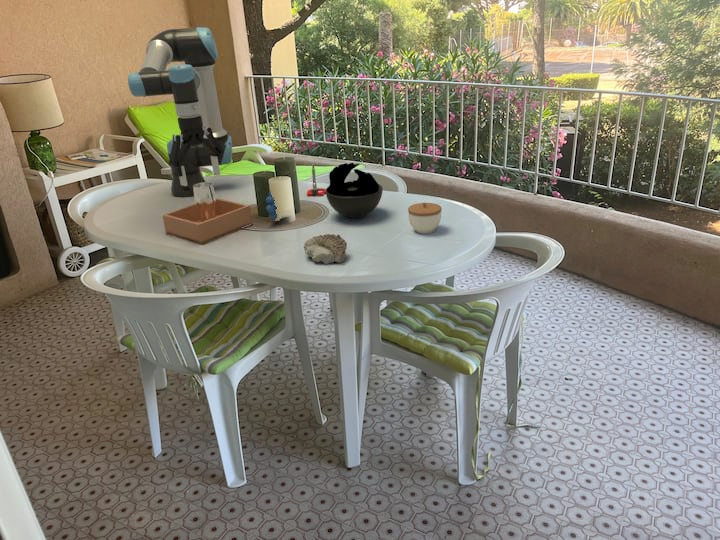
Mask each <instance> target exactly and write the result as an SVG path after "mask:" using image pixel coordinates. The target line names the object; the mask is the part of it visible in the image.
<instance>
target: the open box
mask: <svg viewBox="0 0 720 540" xmlns="http://www.w3.org/2000/svg"><path fill="white" fill-rule="evenodd" d="M161 216H162V220H163V225H164V229H165V234H166V235H168V236H172V237H174V236H175V238H177V239H178V238H179V239H181V240H184V241H188V242H192V243H195V244H199V245H202V246H203V245H205V244H208V243H210V242H213V241H215V240H218V239H220V238H223V237H226V236H228V235H230V234H233V233H235V232H237V230H238V231H240V230H242V229H241V228H242V227H244V226H246V225H249V224H251V223H252V224H253V219H252V212H251V205H248V204H243V203H239V202H234V201H230V200H225V199H221V198H217V197H216V217H215V218H212V219H209V220H206V221H204V222H201V216H200V213H199V211H198V208H197V205H196V203H194V204H191V205H187V206H185V207H182V208H178V209H175V210H173V211H170V212H166V213H164V214H162V215H161ZM239 229H240V230H239Z"/></svg>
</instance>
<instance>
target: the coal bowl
mask: <svg viewBox="0 0 720 540" xmlns="http://www.w3.org/2000/svg"><path fill="white" fill-rule="evenodd" d="M358 166H360V163H353V162H349V163H346V162H344V163H342V164H339V165H338V166H334V167H333V169H332V170H331V171H330V172H329V174H328V177H329V186H327V187H326V188H325V189H326V194H325V196H326V199H327V202H328V203H329V204H330V206H331V208H332V209H333V210H335V212H337V213H339V215H342V216H344V217H346V218H347V217H348V218H354V219H356V218H362V217H364V216H367V215H369V214H370V213H371V212H373V211H374V210H375V209H376V208H377V206H378V205H379V204H380V201H381V198H382V197H383V190H384V189H383V186H382V185H381V184H379V183H378V182H377V180H376V178H374V176H373V175H372V174H371V173H370V172H366V171H362V170H361V169H358V168H356V167H358ZM352 170H353V172H354V174H356V175H357V179H356V180H352V181H351V180H350V181H346V182H345V180H346V179H347V178H348V176H349V175H350V174H351V172H352Z"/></svg>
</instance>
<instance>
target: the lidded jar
mask: <svg viewBox="0 0 720 540" xmlns="http://www.w3.org/2000/svg"><path fill="white" fill-rule="evenodd" d="M442 210H443V209H442V206H441V205H440V204H436V203H433V202H425V201H424V202H419V203H413V204H411V205H410V206H408V208H407V213H408V220H409V224H410V226H411V227H412V229H413V230H415V232H417V233H418V234H422V235H423V234H431V233H434V231H435V230H436V229H437V228H438V227H439V225H440V224H441V219H442Z"/></svg>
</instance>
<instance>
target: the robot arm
mask: <svg viewBox="0 0 720 540" xmlns="http://www.w3.org/2000/svg"><path fill="white" fill-rule="evenodd" d="M216 44H217V43H216V41H215V38H214V35H213V33H212V31H211V29H210V28H208V27H200V26H199V27H198V26H197V27H196V26H195V27H189V28H188V27H186V28H171V29H165V30H163V31H161V32H159V33H158V34H156V35H154V36H153V37H152V38H151V39H150V40H149V41H148V43H147V45H146V47H145V57H144V60H143V62H142V64H141V67H140V70H139V71H135V72H131V73H129V74H128V76H127V82H128V83H127V84H128V88H129V92H130V94H131V95H132V96H133V97H137V98H139V97H141V98H142V97H143V98H146V97H156V96H167V95H172V97H173V103H174V107H175V113H176V116H177V117H178V118H177V123H178V128H179V131H180V134H173V135H172V139H171V140H169V141H167V143H166V150H167V155H168V165H169V166H170V171H171V175H172V177H171V178H172V180H171V187H170V192H171V195H172V196H173V197H177V198H178V197H179V198H181V197H182V198H186V197H187V198H188V197H193V196H194V190H193V185H195V184H197V183H202V182H206V180H205V178H204V177H203V175H202V172H201V168H203V167H212V172H213V176H218V177H219V176H221V171H220V166H223V165H230V164H231V163H232V161H233V140H232V138H233V137H232V135H228V131H227V130H225V128H224V127H223V122H222V118H221V117H222V116H221V111H220V106H219V104H220V103H219V100H218V94H217V88H216V81H215V75H214V70H213V69H214V67H215V66H216V61H217V60H218V59H219V53H218V52H219V51H218V48H217V45H216ZM178 62H179V63H180V62H181V63H182V62H184V64H175V65H170V64H171V63H178ZM168 65H170V66H169V67H168ZM167 67H168V69H167Z"/></svg>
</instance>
